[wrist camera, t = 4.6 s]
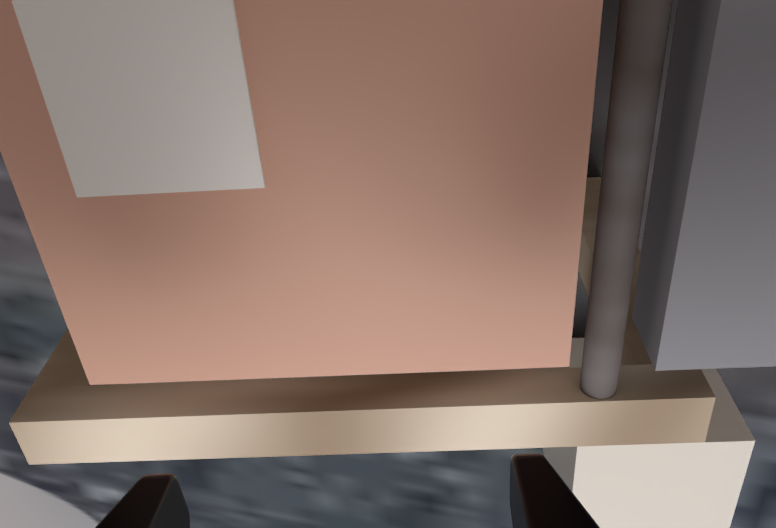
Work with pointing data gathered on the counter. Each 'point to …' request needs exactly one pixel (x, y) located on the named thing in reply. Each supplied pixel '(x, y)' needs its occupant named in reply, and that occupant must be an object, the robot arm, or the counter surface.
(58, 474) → the counter surface
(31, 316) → the counter surface
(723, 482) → the limestone block
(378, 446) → the frame
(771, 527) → the counter surface
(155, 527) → the robot arm
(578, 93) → the trapdoor
